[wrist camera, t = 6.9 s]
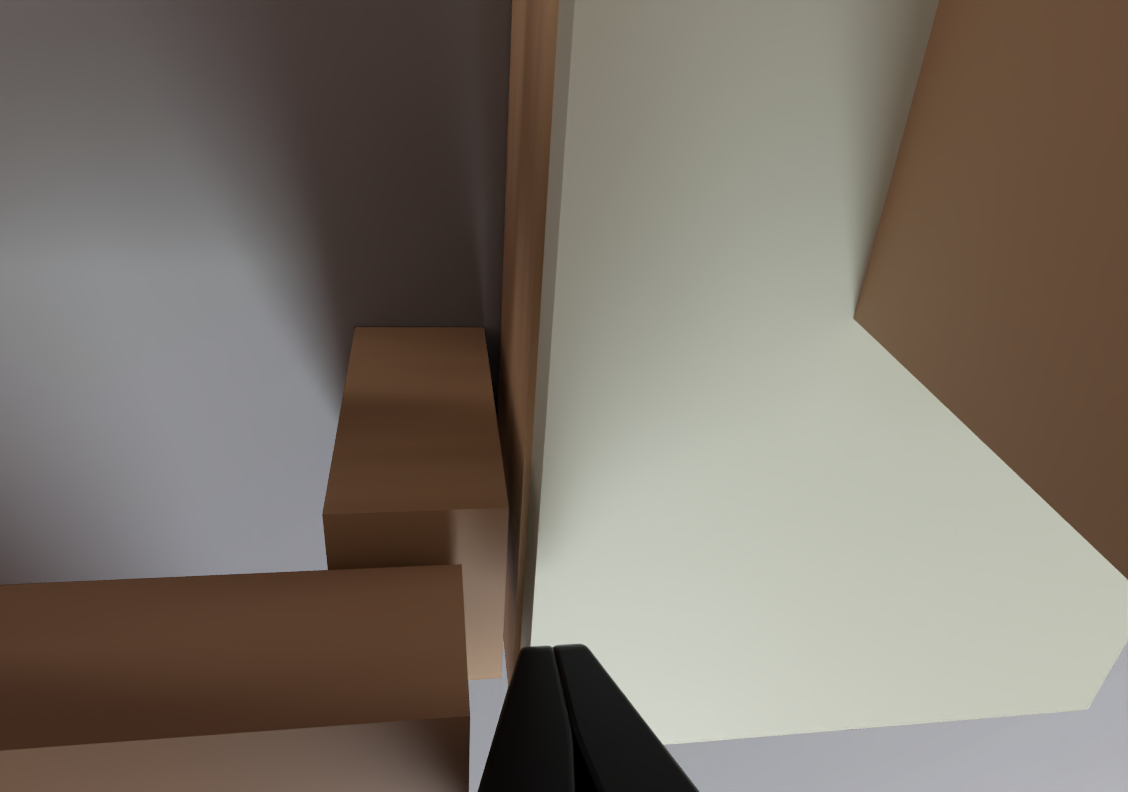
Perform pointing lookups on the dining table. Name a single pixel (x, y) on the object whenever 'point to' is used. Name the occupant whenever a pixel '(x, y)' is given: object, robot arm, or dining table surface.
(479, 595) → the brown shallow open box
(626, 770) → the robot arm
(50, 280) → the dining table surface
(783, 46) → the lid
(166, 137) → the dining table surface
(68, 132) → the dining table surface
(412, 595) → the brown wooden bar
